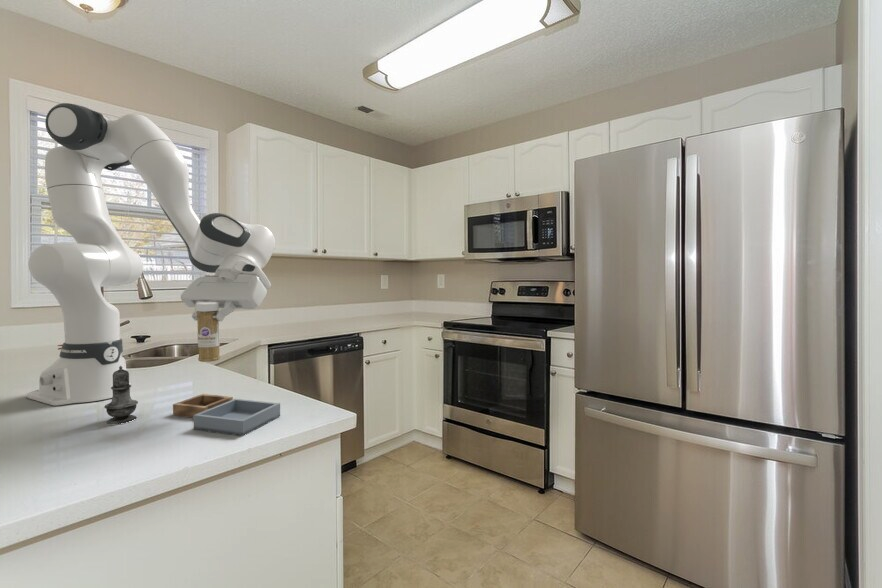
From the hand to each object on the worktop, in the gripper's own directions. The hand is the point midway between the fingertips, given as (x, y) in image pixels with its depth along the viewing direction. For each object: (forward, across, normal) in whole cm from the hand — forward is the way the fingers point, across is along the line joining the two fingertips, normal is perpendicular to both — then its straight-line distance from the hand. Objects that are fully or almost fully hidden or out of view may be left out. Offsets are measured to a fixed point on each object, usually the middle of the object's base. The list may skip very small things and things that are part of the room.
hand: (206, 319), depth 96 cm
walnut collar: (+15, -2, +16) cm, 22 cm away
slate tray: (+18, +11, +13) cm, 25 cm away
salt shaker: (+22, -14, +9) cm, 27 cm away
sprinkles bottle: (+6, 0, +8) cm, 10 cm away
